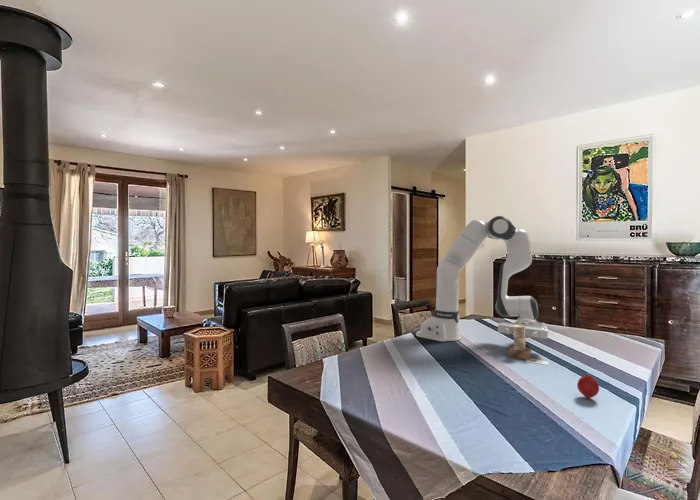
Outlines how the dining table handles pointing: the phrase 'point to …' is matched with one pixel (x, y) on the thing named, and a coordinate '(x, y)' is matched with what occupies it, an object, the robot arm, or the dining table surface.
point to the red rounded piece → (588, 386)
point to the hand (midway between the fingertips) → (520, 333)
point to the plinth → (519, 353)
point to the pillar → (519, 337)
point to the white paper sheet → (537, 361)
